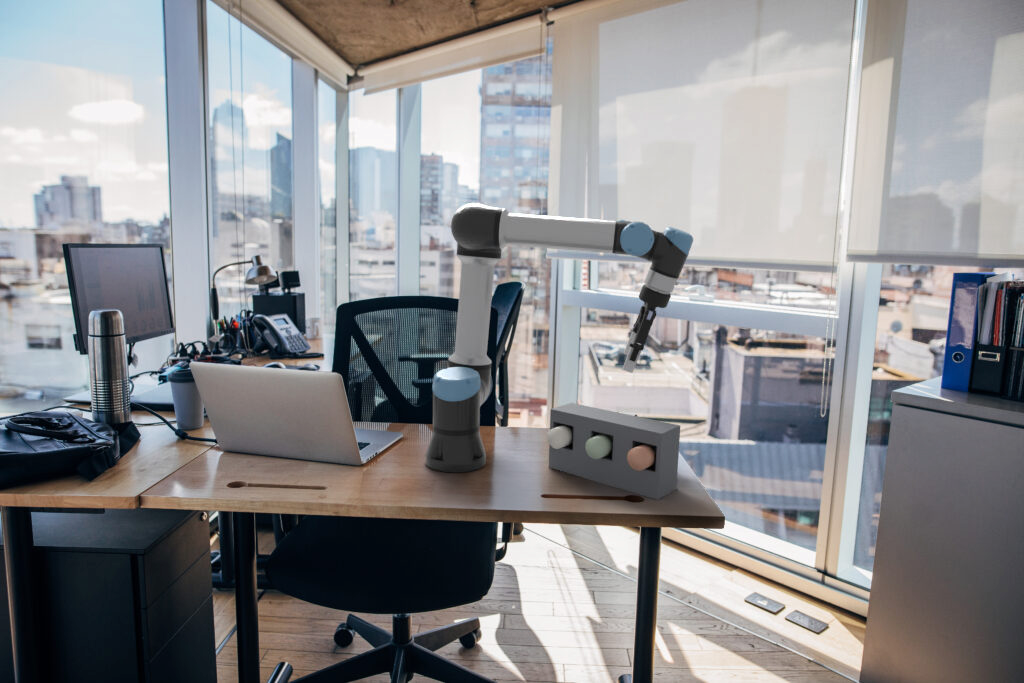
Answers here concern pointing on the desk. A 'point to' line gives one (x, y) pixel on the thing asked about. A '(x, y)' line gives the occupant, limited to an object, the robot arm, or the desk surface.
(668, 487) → the grey button box
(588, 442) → the sage button
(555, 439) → the cream button
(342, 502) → the desk surface
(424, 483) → the desk surface
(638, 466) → the terracotta button
